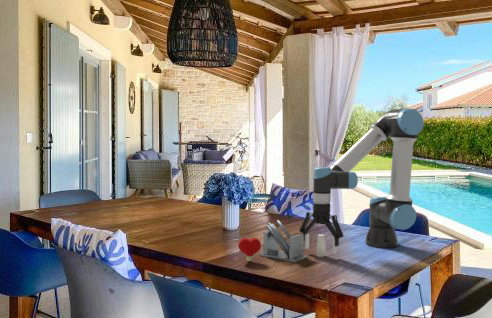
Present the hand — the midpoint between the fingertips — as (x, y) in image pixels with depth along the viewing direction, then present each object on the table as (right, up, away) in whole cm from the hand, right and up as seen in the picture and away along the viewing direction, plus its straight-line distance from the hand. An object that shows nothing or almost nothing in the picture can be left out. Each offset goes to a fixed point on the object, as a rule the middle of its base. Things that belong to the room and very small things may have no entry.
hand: (320, 250), depth 213 cm
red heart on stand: (-31, -3, -10) cm, 33 cm away
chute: (-16, -2, -1) cm, 16 cm away
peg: (0, -2, 0) cm, 2 cm away
